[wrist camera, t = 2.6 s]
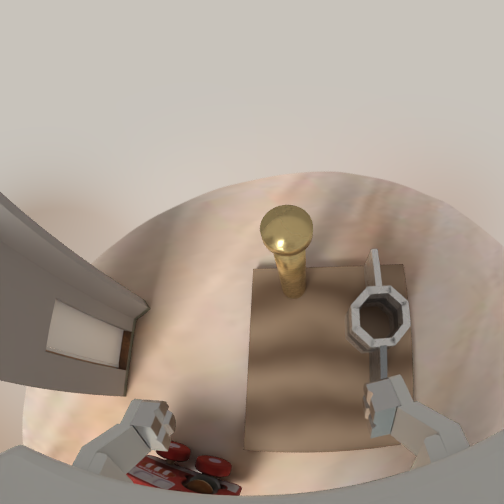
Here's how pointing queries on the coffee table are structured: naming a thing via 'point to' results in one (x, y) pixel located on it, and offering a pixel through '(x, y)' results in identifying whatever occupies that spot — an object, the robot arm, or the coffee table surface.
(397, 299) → the hinge
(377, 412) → the robot arm
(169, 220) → the coffee table surface
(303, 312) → the walnut board
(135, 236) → the coffee table surface
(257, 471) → the coffee table surface
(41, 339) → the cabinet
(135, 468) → the toy fire truck
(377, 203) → the coffee table surface
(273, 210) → the hinge pin
